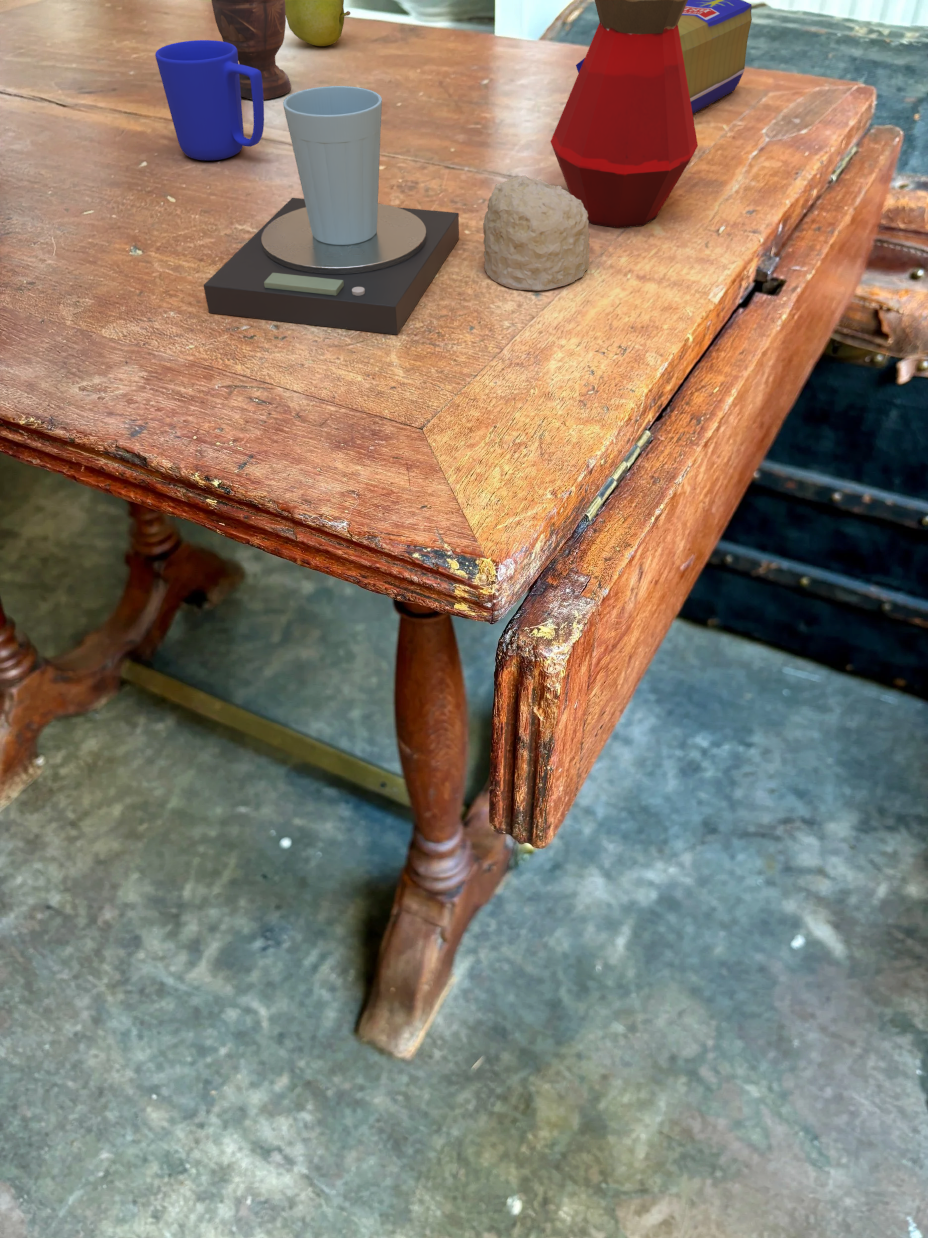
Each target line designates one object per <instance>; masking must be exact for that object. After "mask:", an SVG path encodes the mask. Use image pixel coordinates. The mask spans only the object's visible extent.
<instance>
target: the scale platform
mask: <svg viewBox="0 0 928 1238" xmlns="http://www.w3.org/2000/svg"><path fill="white" fill-rule="evenodd" d="M400 208H401V207H399V208H397V206H394V205H389V204H386V203H385V204H384V203H379V202H378V215H377V232H376V234H375V235H374V236H373V237H372V238H370V239H368V240H366V241H364V242H361V243H356V244H351V245H333V244H327V243H323V242H320V241H318V240H317V239H316V238H314V236H313V235H312V231H311V226H310V222H309V218H308V213H307V209H306V207H305V208H301V209H298V210H295V211H292V212H289V213H287V214H285V215H283V216H281V217H279V218H277V219H275V220H274V221H272V222H271V223H270V224H269V225H268V226H267V227H266V228H265V229H264V231H263V233H262V237H261V240H262V247H263V250H264V252H265V253H266V255H267V256H268V257H269V258H270V259H272V260H273V261H275V262H276V263H278V264H280V265H283V266H285V267H288V268H291V269H294V270H299V271H303V272H310V273H318V274H354V273H363V272H369V271H374V270H379V269H383V268H387V267H390V266H393V265H396V264H399V263H401V262H403V261H405V260H407V259H409V258H411V257H412V256H414V255H415V254H417V253H418V252H419V251H420V250H421V249H422V248H423V246H424V244H425V242H426V238H427V237H426V227H425V225H424V223H423V222H422V221H421V219H419V218H418V217H417V216H415V215H414V214H412V213H410V212H408V211H406V210H403V209H400Z"/></svg>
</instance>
